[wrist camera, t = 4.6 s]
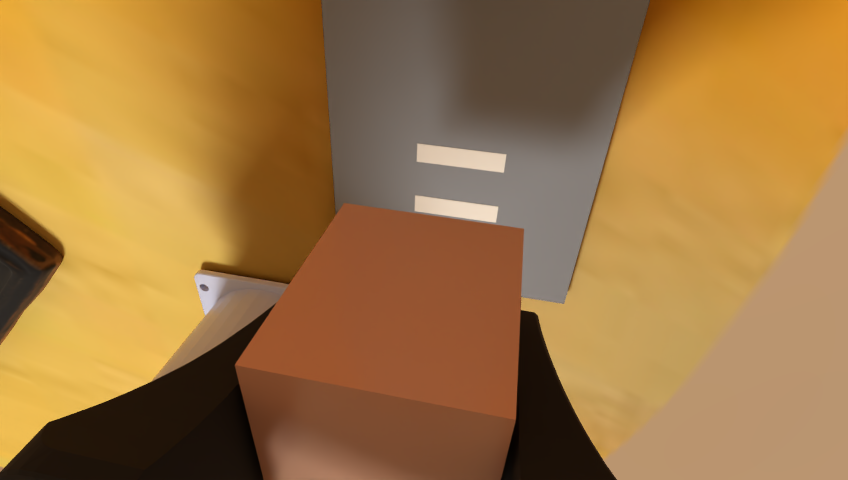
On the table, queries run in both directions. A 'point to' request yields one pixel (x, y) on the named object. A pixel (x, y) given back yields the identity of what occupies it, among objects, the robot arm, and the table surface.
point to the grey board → (480, 113)
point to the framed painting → (21, 269)
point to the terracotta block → (390, 353)
